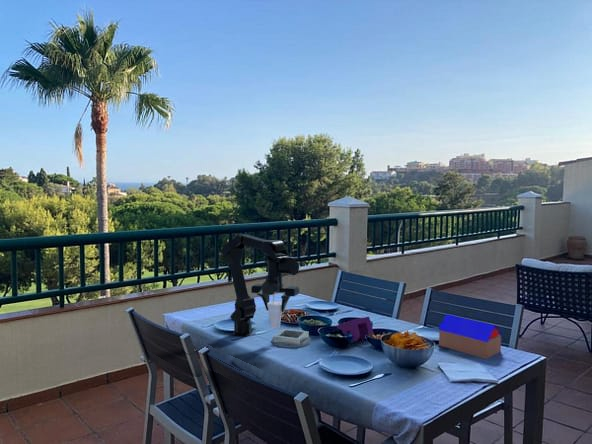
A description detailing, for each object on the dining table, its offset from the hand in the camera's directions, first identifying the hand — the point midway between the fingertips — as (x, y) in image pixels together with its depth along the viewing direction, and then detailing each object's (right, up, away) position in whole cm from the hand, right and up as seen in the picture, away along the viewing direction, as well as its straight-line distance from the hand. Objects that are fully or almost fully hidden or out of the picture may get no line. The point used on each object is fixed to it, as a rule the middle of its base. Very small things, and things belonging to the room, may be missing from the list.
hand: (275, 311), depth 183 cm
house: (+76, -14, -5) cm, 77 cm away
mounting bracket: (+31, -13, +10) cm, 35 cm away
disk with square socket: (+6, -13, +4) cm, 15 cm away
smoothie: (0, -7, 0) cm, 7 cm away
